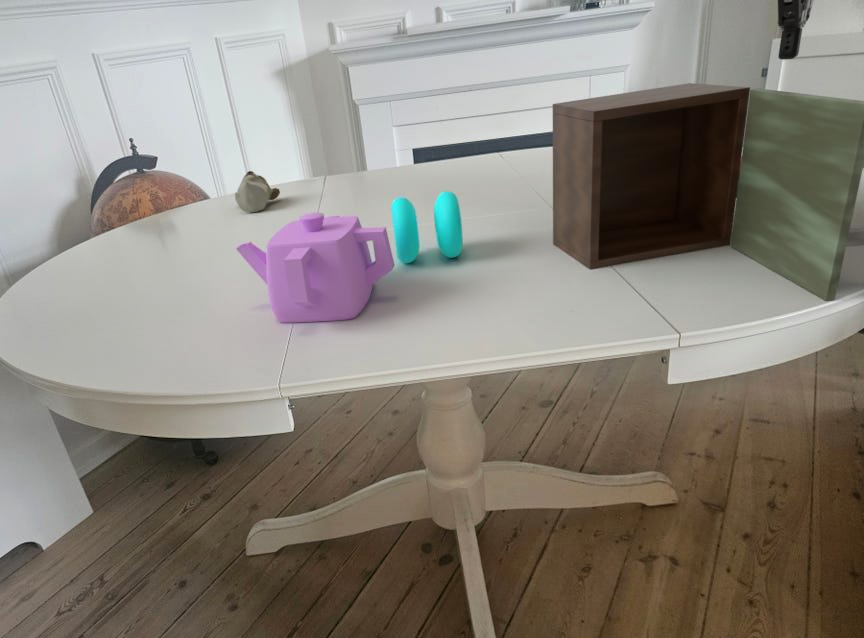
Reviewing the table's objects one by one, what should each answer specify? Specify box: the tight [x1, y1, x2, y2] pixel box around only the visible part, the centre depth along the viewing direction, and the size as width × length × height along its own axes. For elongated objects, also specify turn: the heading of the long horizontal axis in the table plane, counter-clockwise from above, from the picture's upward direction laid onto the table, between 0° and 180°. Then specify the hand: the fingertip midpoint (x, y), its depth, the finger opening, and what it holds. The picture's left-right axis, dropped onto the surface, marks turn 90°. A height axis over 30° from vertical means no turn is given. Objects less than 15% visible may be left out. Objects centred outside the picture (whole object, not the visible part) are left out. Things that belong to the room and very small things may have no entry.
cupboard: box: [552, 82, 751, 271], centre depth 88 cm, size 13×20×20 cm, turn 99°
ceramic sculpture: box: [234, 170, 281, 213], centre depth 147 cm, size 11×9×15 cm
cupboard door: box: [730, 88, 864, 302], centre depth 73 cm, size 7×20×20 cm, turn 1°
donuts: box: [391, 190, 464, 264], centre depth 96 cm, size 10×10×10 cm
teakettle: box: [236, 211, 395, 324], centre depth 85 cm, size 17×17×12 cm
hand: (787, 58), depth 91 cm, fingers closed
